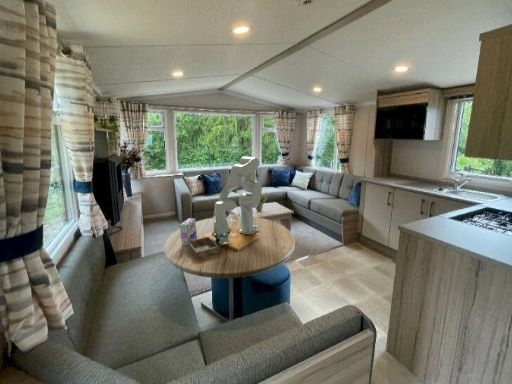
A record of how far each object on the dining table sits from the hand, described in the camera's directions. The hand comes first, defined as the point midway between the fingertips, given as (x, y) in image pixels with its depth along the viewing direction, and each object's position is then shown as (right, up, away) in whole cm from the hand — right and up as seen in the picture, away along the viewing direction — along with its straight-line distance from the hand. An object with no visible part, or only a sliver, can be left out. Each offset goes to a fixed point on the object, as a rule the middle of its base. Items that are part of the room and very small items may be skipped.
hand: (222, 241), depth 186 cm
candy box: (-24, -1, +2) cm, 24 cm away
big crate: (-11, -4, -12) cm, 17 cm away
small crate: (0, -1, 0) cm, 1 cm away
